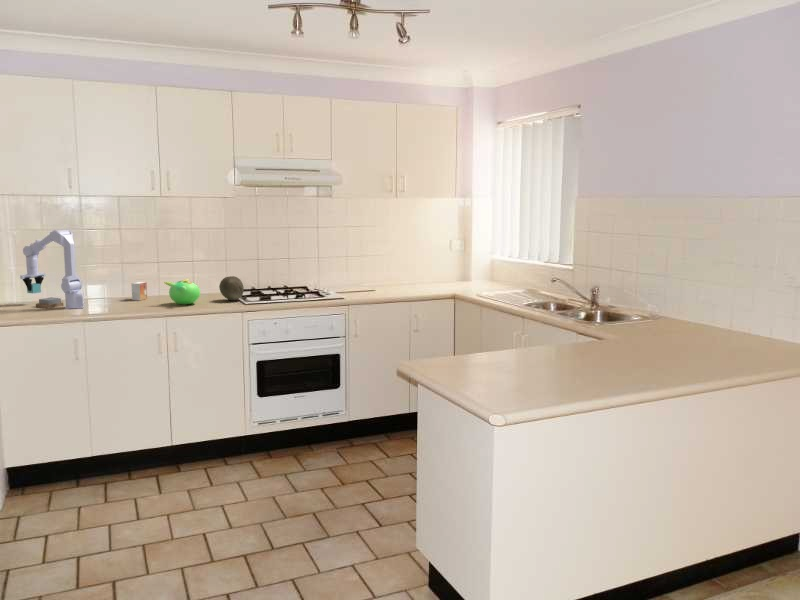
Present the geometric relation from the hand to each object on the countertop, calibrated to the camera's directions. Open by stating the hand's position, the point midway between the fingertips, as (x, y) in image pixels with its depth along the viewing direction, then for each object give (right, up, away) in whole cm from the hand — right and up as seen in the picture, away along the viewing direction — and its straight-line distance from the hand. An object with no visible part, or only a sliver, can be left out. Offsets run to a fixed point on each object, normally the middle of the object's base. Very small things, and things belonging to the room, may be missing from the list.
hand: (34, 290), depth 394 cm
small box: (+53, -6, +22) cm, 57 cm away
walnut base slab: (+11, -10, -4) cm, 15 cm away
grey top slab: (+11, -8, -4) cm, 14 cm away
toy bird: (+85, -9, +7) cm, 85 cm away
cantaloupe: (+109, -6, +22) cm, 111 cm away
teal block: (0, -1, 0) cm, 2 cm away
